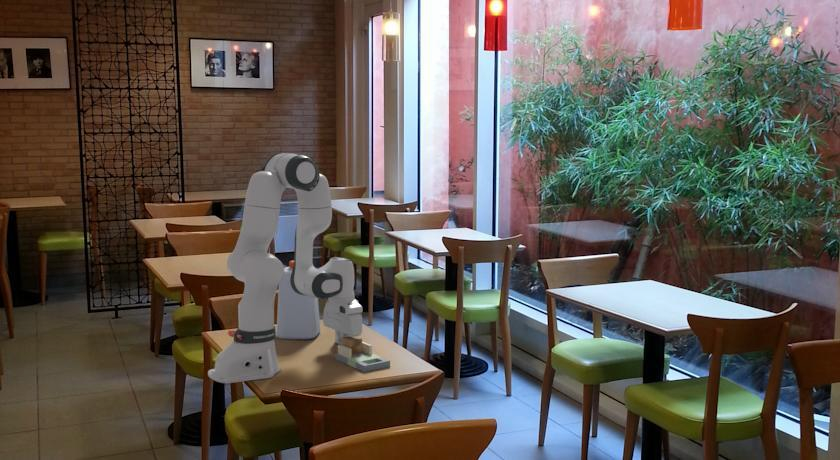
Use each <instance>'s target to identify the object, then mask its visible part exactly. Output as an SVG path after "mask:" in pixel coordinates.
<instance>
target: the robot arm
mask: <svg viewBox="0 0 840 460" xmlns="http://www.w3.org/2000/svg"><path fill="white" fill-rule="evenodd" d="M286 189H293V190H294V191H295V193H296V197H297V223H296V227H295V230H294V232H295V233H294V250H293V251H294V252H293V253H294V255H293V260H294V266H293V270H292V273H291V278H290V283H291V287H292V289H293V290H294V291H295V292H296V293H297V294H300V295H306V296H310V297H314V298H318V300H324V299H328V300H326V302H325V305H324V307H323V313H322V315H323V316H322V317H323V318H322V323H323V325H324V326H325V327H327V328H329V329H332V330H334V331H335V330H336V335H337V338H338V343H340V344H341V345H342V342H341V338H342V337H348V335H349V336H352V337H354V336H357V337H360V336H361V335H362V332H363V316H362V315H363V314H362V313H363V306H362V305H361V304H360V303H359V301H358V302H357V301H356V300H357V299H356V298H355V290H354V286H355V267H354V263H353V261H351V259H349V258H345V257H339V256H333V257H331V258H330V259H329V260H328V262H326V263H325V264H324V265H322V266H321V267H318V268H316V267H315V266H314V263H313V261H314V260H313V256H314V253H313V252H314V240H315V238H316V237H317V236H318V235H320V234H321V233H324V232H325V231H327V229H328V228H329V227H330V226H331V224H332V218H333V209H332V207H333V205H332V197H331V190H330V184H329V181H328V179H327V177H326V176H325V175H323V174H322V173H320V172H319V170H318V166H317V165H316V163H315V161H313V159H312V158H310V157H309V156H306V155H304V154H296V153H294V152H277V153H273V154H271V155H270V156H269V157H268V158H267V159H266V160H265V162H264V165H263V166H262V168H261V170H260V171H258V172H255V173H253V174H252V175H251V177H250V180H249V182H248V186H247V189H246V195H245V199H244V207H243V213H242V214H243V215H242V222H241V228H240V232H239V236H238V239H237V241H236V245H235V247H234V249H233V251H232V252H231V253H230V254H229V255H228V258H227V261H226V265H227V270H228V272H229V273H230V274H231V275H232V277H234V278H235V279H236V280H238V281H240V282H243V283H244V288H243V289H244V290H243V293H242V297H241V299H240V301H239V302H238V305H237V306H238V307H237V308H238V309H237V313H238V328H237V329H236V330H233V329H229V330H228V329H227V330H228V331H227V335H228V336H229V337H232V338H233V340H232V341H231V343H229V344H228V345H227V346H226V347H225V348H224V349H222V351H220V352H219V353H218V354H217V355H216V357H215V363H214V368H211V369H209V370H208V371H207V377H208V378H210V379H211V380H212V381H215V382H217V383H221V384H232V383H233V384H234V383H240V382H249V381H257V380H264V379H271V378H273V377H274V376H275V374H277V373H279V372H280V371H281V367H280V365H279V360H278V354H277V351H276V349H277V348H276V343H277V341H276V340H277V335H276V330H277V329H276V326H275V300H276V295H277V290H278V288H279V283H280V282H281V281H282V279H283V277H284V268H285V265H284V264H283V263H282V261H281V260H280V259H279V258H278V257H276V256H275V255H273V254H272V253H269V252H268V251H269V247H270V245H271V242H272V241H273V238H274V237H275V236H277V233H278V228H279V220H280V214H281V213H280V212H281V201H282V196H283V193H284V191H285V190H286ZM340 344H339V345H340Z"/></svg>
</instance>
